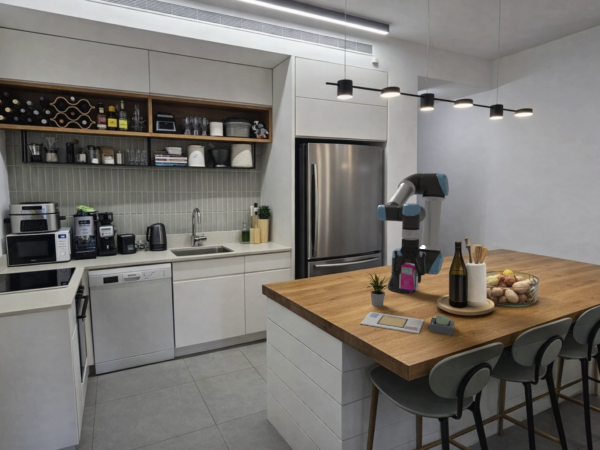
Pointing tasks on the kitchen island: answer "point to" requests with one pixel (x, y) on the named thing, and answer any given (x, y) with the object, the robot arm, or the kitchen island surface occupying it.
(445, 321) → the button
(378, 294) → the house plant
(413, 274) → the supplement box
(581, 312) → the kitchen island surface
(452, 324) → the soap dish
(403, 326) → the picture sheet
